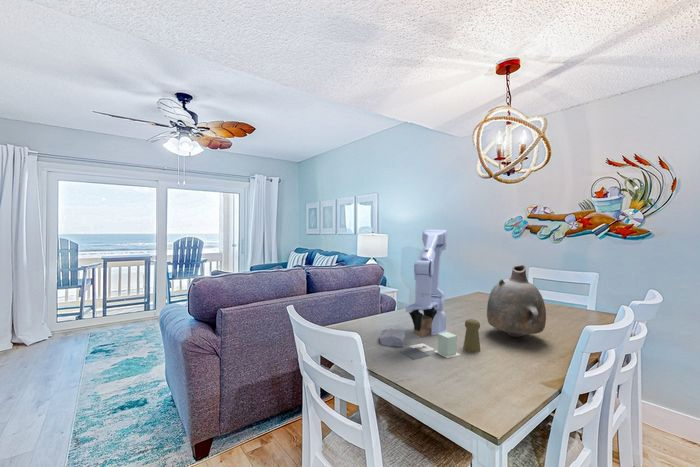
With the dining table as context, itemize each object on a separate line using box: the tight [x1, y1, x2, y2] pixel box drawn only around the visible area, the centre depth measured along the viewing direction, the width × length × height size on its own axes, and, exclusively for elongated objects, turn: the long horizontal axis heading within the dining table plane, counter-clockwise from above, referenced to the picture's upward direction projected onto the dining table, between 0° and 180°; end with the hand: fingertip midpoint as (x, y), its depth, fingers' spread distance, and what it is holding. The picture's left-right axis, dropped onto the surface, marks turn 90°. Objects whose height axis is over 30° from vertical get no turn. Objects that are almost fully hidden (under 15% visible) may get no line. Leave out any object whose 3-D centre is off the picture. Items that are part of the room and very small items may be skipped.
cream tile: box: [409, 342, 435, 353], centre depth 113 cm, size 6×6×1 cm
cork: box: [462, 318, 481, 353], centre depth 113 cm, size 6×6×11 cm
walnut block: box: [413, 315, 432, 338], centre depth 113 cm, size 4×4×6 cm
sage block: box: [437, 331, 458, 356], centre depth 109 cm, size 4×4×6 cm
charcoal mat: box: [400, 348, 430, 361], centre depth 108 cm, size 7×7×1 cm
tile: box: [433, 349, 461, 359], centre depth 109 cm, size 6×6×1 cm
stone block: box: [379, 328, 406, 348], centre depth 120 cm, size 12×5×10 cm
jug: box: [486, 264, 547, 338], centre depth 126 cm, size 24×21×30 cm
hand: (422, 329), depth 113 cm, fingers closed on walnut block, 4 cm apart
